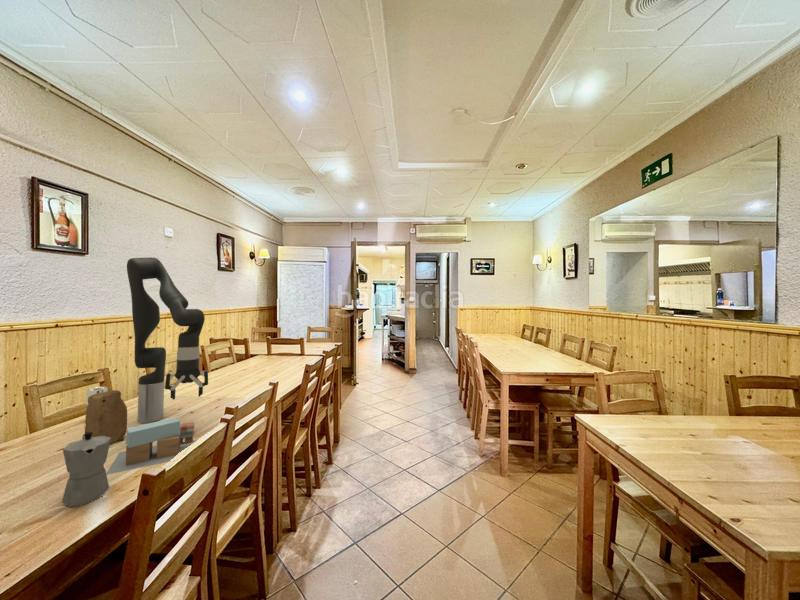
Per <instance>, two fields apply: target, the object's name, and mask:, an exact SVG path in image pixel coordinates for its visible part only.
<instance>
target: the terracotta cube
mask: <svg viewBox="0 0 800 600" xmlns="http://www.w3.org/2000/svg"><path fill="white" fill-rule="evenodd" d="M184 425H187V430H191V429H193V436H194V433H195V421H190V422H185V423H180V431H181V426H184Z"/></svg>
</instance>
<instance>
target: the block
mask: <svg viewBox="0 0 800 600" xmlns="http://www.w3.org/2000/svg"><path fill="white" fill-rule="evenodd" d="M84 423H85V426H84V434H85V433H88V432H93V433H92V436H91V437H98V436H106V437H110V438H111V441H110V446H111V445H115V444H116V443H119V442H122V440H123V439H124V437H125V436H126V435H127V428H128V406H127V405H126V403H125V401H124V400H123V398H122V393H121V390H118V389H117V390H115V389H113V390H111V389H110V390H109V389H108V391H106V392H101V393H97V394H94V395H91V396H89V397H88V405H87V406H86V410H85V422H84Z"/></svg>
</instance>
